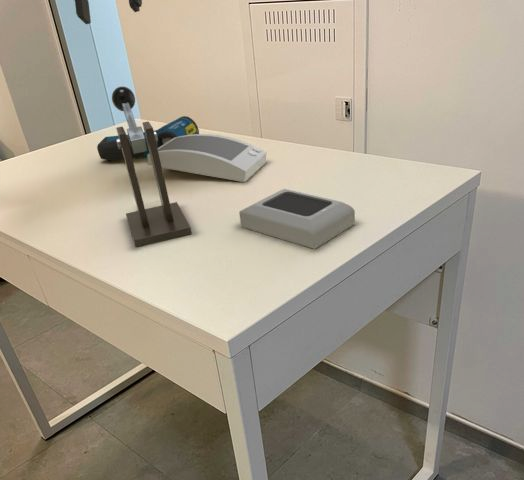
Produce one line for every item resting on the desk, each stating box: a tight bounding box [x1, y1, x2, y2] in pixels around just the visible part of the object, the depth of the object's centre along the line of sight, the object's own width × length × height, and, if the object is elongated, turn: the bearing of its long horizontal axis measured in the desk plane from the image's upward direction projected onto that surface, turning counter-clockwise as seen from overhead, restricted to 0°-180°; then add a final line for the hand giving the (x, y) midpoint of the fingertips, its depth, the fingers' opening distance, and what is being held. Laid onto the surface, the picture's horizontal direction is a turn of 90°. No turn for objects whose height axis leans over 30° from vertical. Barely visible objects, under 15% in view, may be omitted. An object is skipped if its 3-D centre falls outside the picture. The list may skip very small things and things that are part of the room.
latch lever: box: [111, 86, 147, 154], centre depth 85 cm, size 13×4×4 cm, turn 18°
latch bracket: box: [116, 120, 193, 248], centre depth 86 cm, size 12×9×16 cm
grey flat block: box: [238, 188, 356, 250], centre depth 84 cm, size 10×4×15 cm
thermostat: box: [147, 133, 267, 183], centre depth 109 cm, size 11×21×6 cm, turn 68°
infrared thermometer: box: [96, 115, 200, 161], centre depth 123 cm, size 6×13×20 cm
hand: (109, 15), depth 86 cm, fingers open, 8 cm apart
